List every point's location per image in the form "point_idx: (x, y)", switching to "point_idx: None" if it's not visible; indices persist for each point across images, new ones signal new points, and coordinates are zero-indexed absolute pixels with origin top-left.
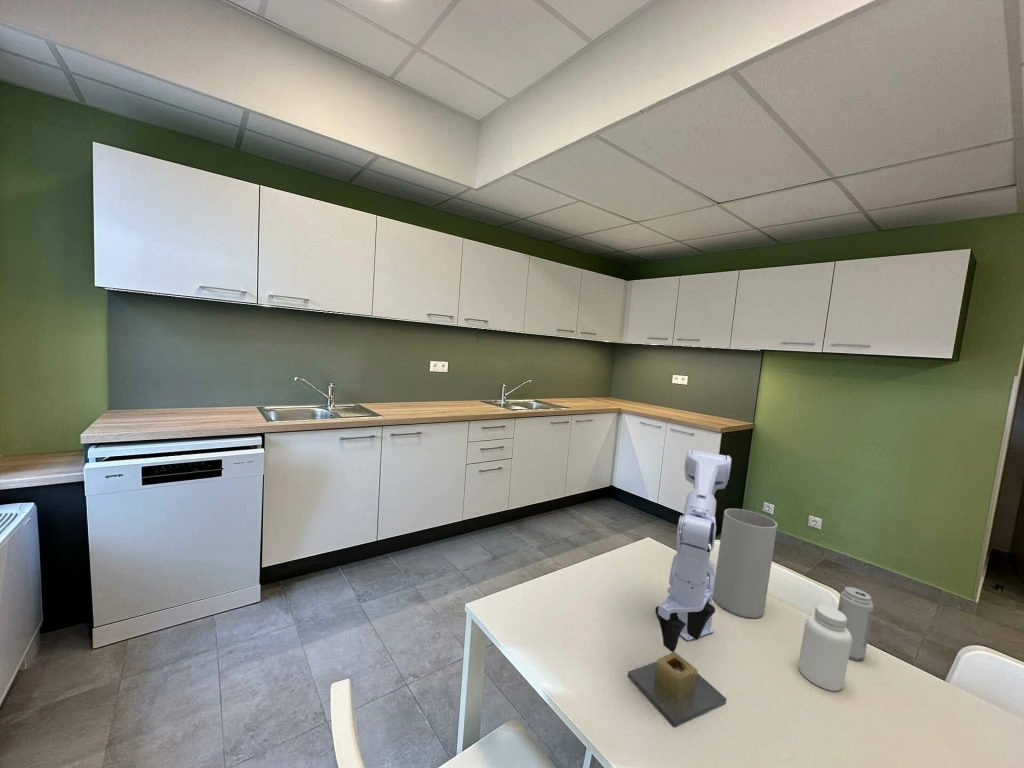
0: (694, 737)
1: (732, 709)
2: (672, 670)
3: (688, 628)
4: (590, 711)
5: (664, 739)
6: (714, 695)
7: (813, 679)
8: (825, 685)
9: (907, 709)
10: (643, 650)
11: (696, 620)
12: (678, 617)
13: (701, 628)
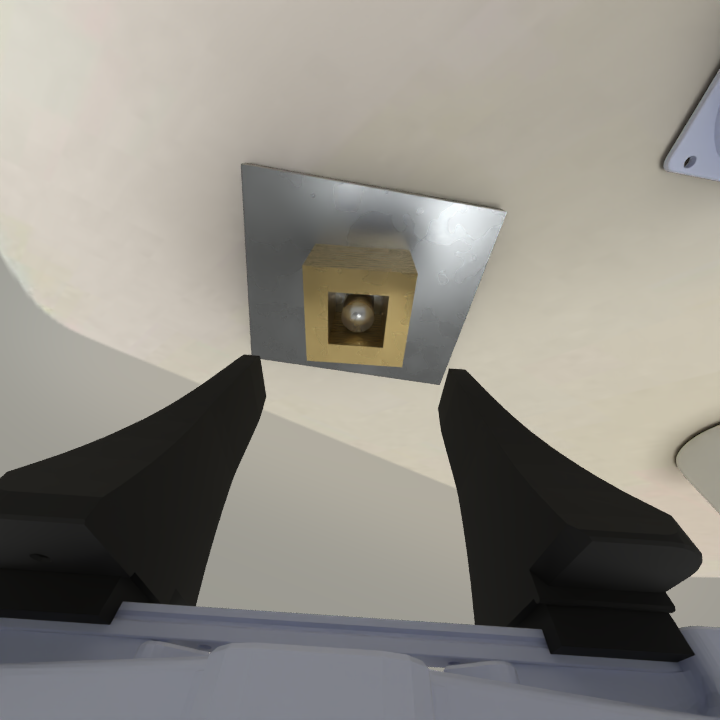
0: (281, 381)
1: (432, 389)
2: (315, 326)
3: (456, 388)
4: (36, 203)
5: (210, 354)
6: (423, 366)
7: (689, 454)
8: (681, 468)
9: (708, 524)
10: (431, 83)
11: (471, 477)
12: (168, 602)
13: (454, 477)
